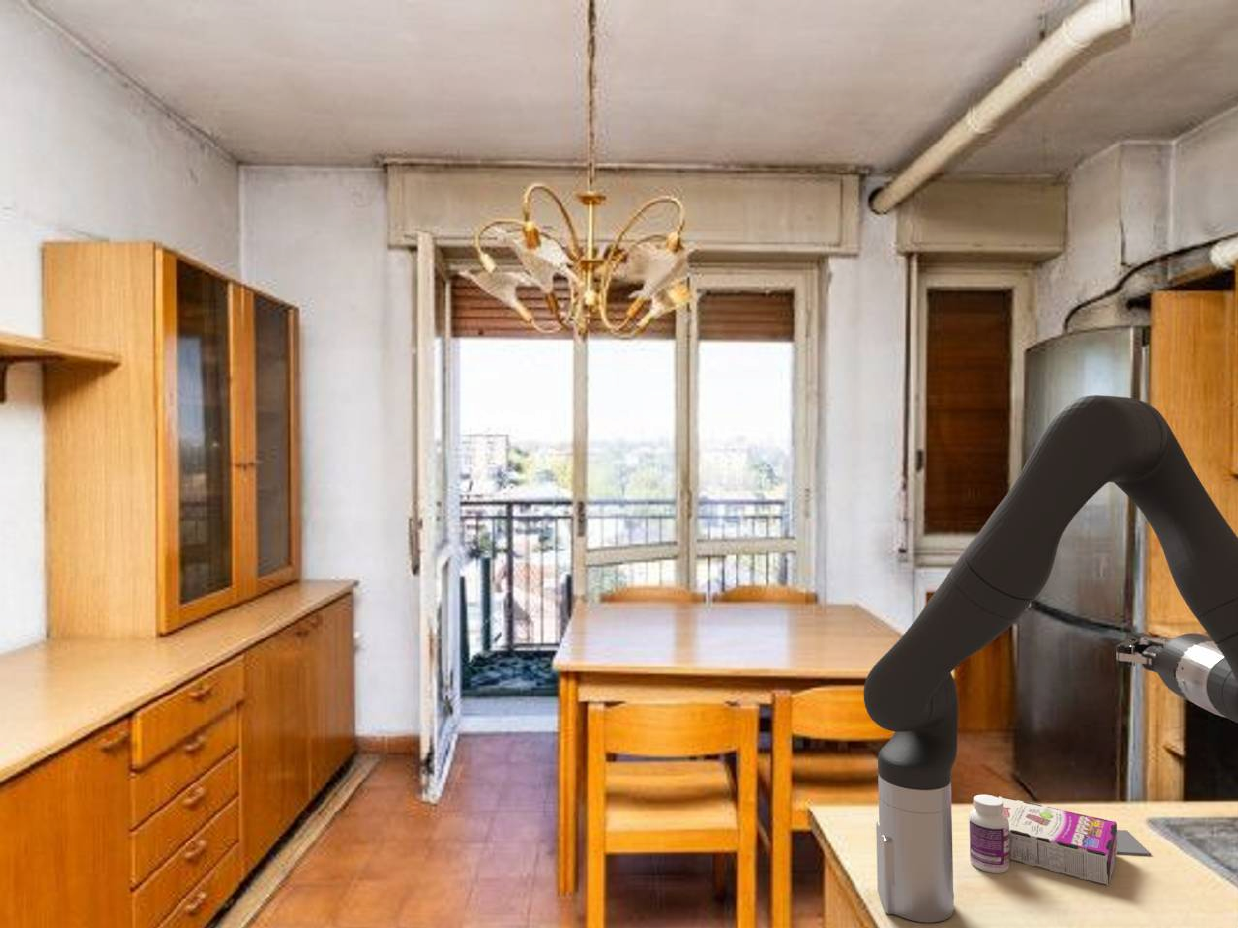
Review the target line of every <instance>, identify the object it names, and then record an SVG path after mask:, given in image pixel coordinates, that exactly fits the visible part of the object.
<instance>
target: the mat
mask: <svg viewBox="0 0 1238 928" xmlns="http://www.w3.org/2000/svg"><path fill="white" fill-rule="evenodd" d="M1116 855H1132V856H1133V855H1134V856H1150V857H1151V856H1152V852H1151V851H1149V850H1148V848H1146V847H1145V846H1144V845H1143V844H1142V843H1141V842H1140V841H1139V840H1138V839H1136V838H1135V836H1134V835H1132V834H1131V833H1130V832H1129V831H1128V830H1127V829H1125V830H1123V829H1117V854H1116Z"/></svg>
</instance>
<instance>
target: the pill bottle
mask: <svg viewBox="0 0 1238 928" xmlns="http://www.w3.org/2000/svg"><path fill="white" fill-rule="evenodd" d="M973 807H974V808H973V809H972V810H971V811H970V813H969V817H968V818H969V819H968V821H969V822H968V823H969V859H970V862H971V864H972V865H973V866H974V867H975V868H977V869H979V870H981V871H984V872H987V873H992V874H1000V873H1004V872H1007V871H1008V870H1009V868H1010V860H1009V821H1008V819H1007V817H1006V816H1005V815H1004V814H1003V810H1004V808H1003V801H1002V800H1001V799H1000V798H999V796H998V797H997V796H994V795H990V794H977V795H974V797H973Z"/></svg>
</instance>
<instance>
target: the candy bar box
mask: <svg viewBox="0 0 1238 928" xmlns="http://www.w3.org/2000/svg"><path fill="white" fill-rule="evenodd" d="M998 798H1000V799H1001V800H1002V801H1003V808H1004V810H1003V814H1004V815H1005V816H1006V817H1007V819H1008V821H1009V861H1012V862H1016V863H1019V864H1020V863H1021V864H1022V865H1027V866H1031V867H1036V868H1039V869H1043V870H1046V871H1047V870H1048V871H1049V872H1054V873H1058V874H1062V875H1066V876H1068V877H1069V876H1070V877H1072V878H1076V879H1077V878H1078V879H1081V880H1085V881H1087V882H1092V883H1095V884H1096V883H1097V884H1100V885H1102V886H1107V887H1108V886H1110V883H1111V879H1112V875H1113V870H1114V867H1115V863H1116V858H1117V855H1118V854H1117V830H1118V823H1117V821H1114V820H1113V821H1112V820H1108V819H1104V818H1100V817H1095V816H1091V815H1086V814H1083V813H1082V814H1081V813H1078V812H1077V813H1076V812H1073V811H1067V810H1063V809H1058V808H1053V807H1049V806H1047V805H1046V806H1045V805H1041V804H1035V803H1031V802H1027V801H1023V800H1019V799H1013V798H1010V797H1004V796H1001V795H999V796H998Z"/></svg>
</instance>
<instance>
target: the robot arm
mask: <svg viewBox="0 0 1238 928" xmlns="http://www.w3.org/2000/svg"><path fill="white" fill-rule="evenodd" d="M1108 483H1113V484H1115V486H1116V487H1118V488H1119V489H1120V490H1121V491H1122V492H1123V493H1124V494H1125V495H1126V496H1127V497H1128V498H1129V499H1130V500H1131V501H1132V502H1133V503H1134V504H1135V505H1136V507H1137V508H1138V509H1139V511H1140V512H1141V513H1142V514H1143V516H1144V517H1145V519H1146V520H1147V521H1148V523H1149V525H1150V526H1151V527H1152V530H1153V532H1154V533H1155V535H1156V537H1157V540H1158V541H1159V544H1160V548H1161V549H1162V552H1163V554H1164V557H1165V561H1166V563H1167V567H1168V569H1169V571H1170V574H1171V578H1172V579H1173V582H1174V583H1175V586H1176V588H1177V590H1178V591H1179V594H1180V596H1181V597H1182V599H1183V601H1184V602H1185V604H1186V605H1187V607H1188V609H1189V610H1190V612H1191V613H1192V614H1193V616H1194V617H1195V618H1196V620H1197V621H1198V622H1199V623H1200V625H1201V626H1202V628H1203V629H1204V631H1205V632H1206V634H1207V635H1206V634H1202V633H1184V634H1180V635H1177V636H1176V637H1174V638H1164V637H1161V636H1160V637H1154V636H1152V635H1150V634H1147V633H1144V632H1131V633H1129V635H1128V636H1127V639H1125V640H1123V641H1121V642H1120V643H1118V644H1117V645H1115V648H1116V649H1115V650H1116V656H1115V657H1116V666H1117V667H1119V668H1122V669H1126V668H1129V667H1135V666H1136V664H1141V666H1142V668H1143V669H1145V670H1147V671H1150V672H1155V673H1156V674H1157V675H1158V676H1159V678H1160V680H1161V681H1162V683H1163V684H1164V685H1165V687H1167V688H1168V690H1170V691H1171V692H1172V693H1174V694H1175V695H1177V696H1179V697H1181V698H1182V699H1184V700H1186V701H1189V702H1190V703H1193V704H1194V705H1196V706H1198V707H1200V708H1201V709H1204V710H1206V711H1208V712H1210V713H1212V714H1213V715H1216V716H1219V717H1222V718H1225V719H1228V720H1230V721H1232V722H1234V723H1236V724H1238V536H1237V534H1236V532H1235V531H1233V529H1232V527H1231V526H1230V525H1229V523H1228V521H1227V520H1226V519H1225V517H1224V516H1223V515H1222V513H1221V512H1220V511H1219V509H1218V507H1217V506H1216V504H1215V503H1214V500H1212V497H1210V495H1209V493H1208V491H1207V490H1206V488H1205V486H1203V484H1202V482H1201V480H1200V479H1199V477H1198V475H1197V474H1196V471H1194V468H1193V467H1192V465H1191V463H1190V461H1189V460H1188V458H1187V455H1186V454H1185V452H1184V450H1183V448H1182V446H1181V444H1180V442H1179V441H1178V439H1177V437H1176V436H1175V433H1173V431H1172V429H1171V427H1170V426H1169V423H1168V422H1167V421H1166V419H1165V418H1164V416H1163V415H1162V413H1161V412H1160V411H1159V410H1158V409H1157V408H1155V407H1154V406H1152V404H1150V403H1148V402H1145V401H1142V400H1140V399H1136V398H1132V397H1127V396H1125V397H1124V396H1113V395H1099V394H1098V395H1097V394H1095V395H1086V396H1082V397H1079V398H1077V399H1074V400H1072V401H1070V402H1068V403H1067V404H1065V405H1064V406H1063V407H1062V408H1060V410H1059V411H1057V413H1056V414H1055V415H1054V416H1053V417H1052V418H1051V420H1050V422H1049V423H1048V425H1047V426H1046V428H1045V430H1044V431H1043V433H1042V435H1040V438H1039V440H1038V441H1037V443H1036V445H1035V447H1034V448H1033V451H1032V452H1031V454H1030V455H1029V458H1028V459H1027V461H1026V463H1025V464H1024V467H1023V468H1022V470H1021V472H1020V473H1019V474H1018V476H1017V479H1016V480H1015V482H1014V483H1013V485H1012V486H1011V488H1010V489H1009V491H1008V492H1007V493H1006V495H1005V497H1004V498H1003V499H1002V500H1001V502H1000V503H999V504H998V506H997V507H996V508H995V510H993V512H992V514H991V515H990V516H989V518H988V519H987V520H986V522H985V524H984V525H983V526H982V528H981V529H980V531H979V532H977V534H976V536H975V537H974V538H973V540H971V542H970V543H969V544H968V545H967V547H966V548H965V550H964V551H963V553H962V554H961V555H960V557H959V558H958V559H957V561H956V562H955V563H954V565H952V567H951V569H950V570H949V571H948V573H947V575H946V577H945V578H944V579H943V581H942V582H941V584H940V585H939V586H938V588H937V589H936V591H935V592H934V593H933V595H932V596H931V597H930V599H929V600H927V603H926V604H925V605H924V607H923V609H922V610H921V612H920V613H919V614H918V616H917V617H916V619H915V620H914V622H913V623H912V624H911V626H909V628H908V629H907V631H906V632H905V633H903V635H902V637H900V638H899V639H898V640H897V641H896V643H894V645H893V646H892V647H891V648H890V649H889V650H888V651H886V653H885V654H884V655H883V656H882V657H881V658H880V659H879V660H878V661H877V662H876V663H875V664H874V666H872V668H871V669H870V670H869V673H868V675H867V677H866V679H865V681H864V682H865V683H864V685H863V686H864V687H863V703H864V708H865V710H866V713H867V715H868V716H869V717H870V720H871V721H873V722H874V723H875V724H876V725H878V726H879V727H880V728H882V729H884V730H886V731H890V732H891V731H892V732H894V733H893V734H892V736H891V738H890V739H889V741H888V742H887V743H886V744H885V745H884V746H883V747H882V748H881V750H880V751H879V753H878V755H877V772H878V775H877V776H878V779H877V780H878V782H877V784H878V815H879V816H878V817H879V818H878V820H879V821H877V822H876V827H875V829H876V830H875V831H876V865H877V866H876V868H877V869H876V871H877V873H876V874H877V875H876V877H877V880H876V881H877V892H878V894H879V895H878V896H880V897H879V898H880V901H881V903H882V907H883V910H884V913H886V914H889V915H891V914H892V915H896V916H898V917H901V918H903V919H906V920H910V921H914V922H920V923H937V922H938V923H939V922H943V921H945V920H947V919H949V918H950V917H952V915H953V914H954V906H955V905H954V898H955V896H954V895H955V894H954V866H953V865H954V863H953V862H954V861H953V856H954V855H953V821H952V819H953V818H952V815H953V813H952V812H953V811H952V769H953V766H954V764H955V761H956V758H957V753H958V734H959V729H958V728H959V698H958V697H959V696H958V691H957V690H958V689H957V686H956V682H955V679H954V677H953V675H952V672H953V670H954V669H956V668H957V667H958V666H959V665H961V664H962V663H963V662H964V661H966V660H968V659H969V658H970V657H971V656H973V655H974V654H976V653H978V652H979V651H981V650H982V649H983V648H984V647H986V646H987V645H989V644H990V643H991V642H993V641H994V640H996V639H997V638H998V637H999V636H1002V634H1003V633H1004V632H1006V631H1007V630H1008V629H1010V627H1011V626H1012V625H1013V624H1015V622H1016V621H1017V620H1018V619H1019V618H1020V617H1022V615H1023V614H1024V613H1025V612H1026V610H1027V609H1028V608H1029V606H1030V605H1031V604H1032V603H1033V602H1034V600H1035V599H1036V598H1037V597H1038V596H1039V594H1040V593H1041V592H1042V591H1043V589H1044V588H1045V585H1046V584H1047V582H1048V580H1049V578H1050V577H1051V576H1050V575H1051V573H1052V571H1053V567H1054V564H1055V560H1056V556H1057V552H1058V547H1059V544H1060V542H1061V539H1062V537H1063V534H1064V532H1065V530H1066V528H1067V527H1068V526H1069V524H1070V523H1071V522H1072V521H1073V519H1074V517H1076V516H1077V514H1079V512H1080V511H1081V510H1082V509H1083V508H1084V506H1085V505H1086V504H1087V503H1088V502H1089V501H1090V499H1091V498H1092V497H1094V496H1095V494H1096V493H1097V492H1098V491H1100V490H1101V489H1102V488H1103V487H1104V486H1105V485H1107V484H1108Z"/></svg>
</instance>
